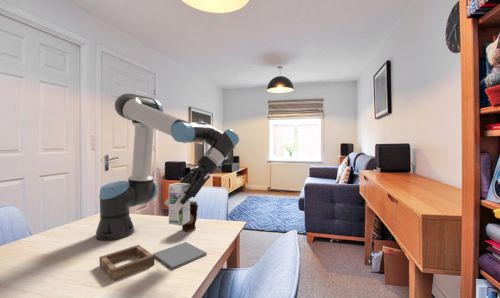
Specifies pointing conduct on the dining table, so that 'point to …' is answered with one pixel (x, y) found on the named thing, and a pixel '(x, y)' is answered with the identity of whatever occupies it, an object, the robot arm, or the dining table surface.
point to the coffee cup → (191, 218)
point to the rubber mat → (179, 255)
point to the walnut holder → (128, 268)
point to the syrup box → (174, 194)
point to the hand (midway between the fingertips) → (170, 207)
